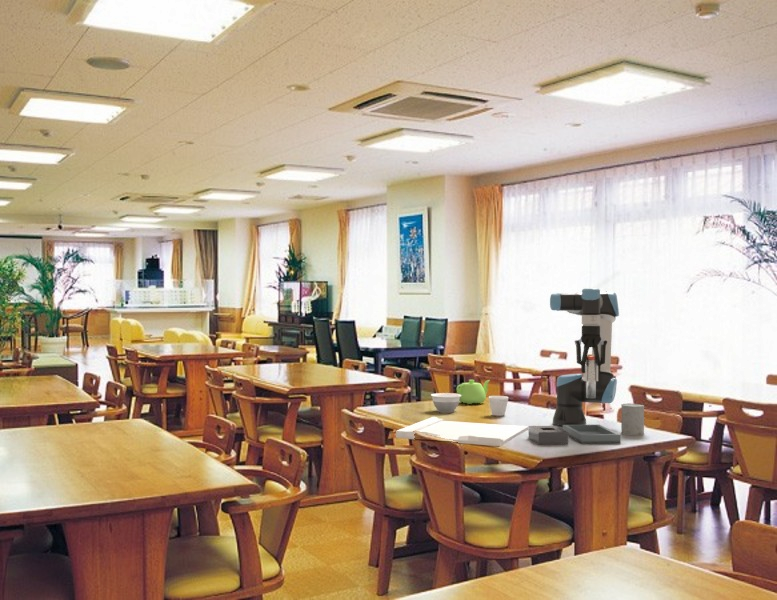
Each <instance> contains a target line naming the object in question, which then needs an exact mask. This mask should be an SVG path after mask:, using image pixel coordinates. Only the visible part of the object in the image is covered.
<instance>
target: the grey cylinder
mask: <svg viewBox="0 0 777 600" xmlns="http://www.w3.org/2000/svg"><path fill="white" fill-rule="evenodd" d="M620 406H621V423H620V424H621V426H620V427H621V431H620V432H621V434H622V435H626V436H643V434H644V435H645V405H644V404H640V403H622V404H621V405H620Z"/></svg>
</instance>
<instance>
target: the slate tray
mask: <svg viewBox="0 0 777 600" xmlns="http://www.w3.org/2000/svg"><path fill="white" fill-rule="evenodd" d="M562 429H564V430H565V431H567V432H568V438H571V439H573V440H574V441H577V442H578V443H579V444H581V445H590V444H591V445H593V444H594V445H595V444H596V445H597V444H599V445H600V444H601V445H604V444H608V445H609V444H621V443H622V442H621V440H622V439H621V436H622V435H621V434H620V433H618V432H616V431H613V430H611V429H609V428H608V427H605V426H603V425H601V424H586V425H563V426H562Z"/></svg>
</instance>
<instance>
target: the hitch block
mask: <svg viewBox="0 0 777 600" xmlns="http://www.w3.org/2000/svg"><path fill="white" fill-rule="evenodd" d="M528 439H530V440H531V441H532V442H533V443H535V444H537V445H538V446H550V445H551V446H554V445H555V446H557V445H558V446H560V445H569V436H568V432H567V431H565V430H564V429H563V427H560V426H559V425H528Z"/></svg>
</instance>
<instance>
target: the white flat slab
mask: <svg viewBox="0 0 777 600" xmlns="http://www.w3.org/2000/svg"><path fill="white" fill-rule="evenodd" d="M415 430H416V431H420V433H425V434H428V435H432V436H436V437H441V438H445V439H449V440H453V441H456V442H458V443H457V444H467V445H468V444H469V445H480V446H493V447H501V446H503V445H504V444H506V443H508V442H509V441H512V440H513V439H515V438H516V437H518V436H519V435H522V434H523V433H524V432H526V431H529V425H528V426H526V425H512V424H511V425H510V424H495V423H483V422H482V423H481V422H480V423H479V422H467V421H465V422H464V421H451V420H450V421H449V420H444V418H440V417H436V416H431V417H428V418H426V419H423V420H421V421H418V422H416V423H413V424H410V425H408V426H406V427H401V428H400V429H397V430H396V431H395V435H396V436H395V438H396V439H405V440H406V439H407V440H415V439H414V438H415V436H414V434H415V433H416V432H413V431H415Z"/></svg>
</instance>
